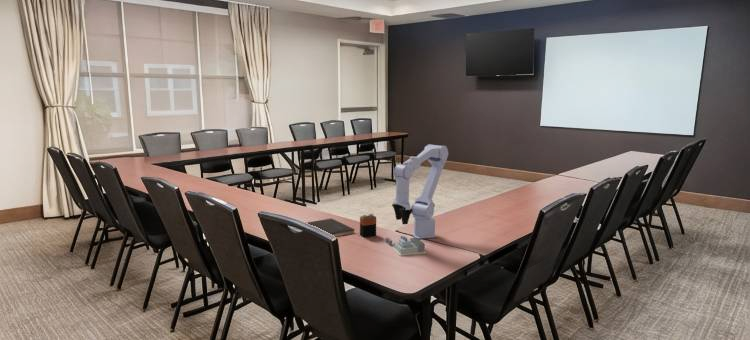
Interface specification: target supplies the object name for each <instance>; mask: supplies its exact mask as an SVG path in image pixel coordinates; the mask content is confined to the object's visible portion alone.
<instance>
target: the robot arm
mask: <svg viewBox="0 0 750 340" xmlns="http://www.w3.org/2000/svg"><path fill="white" fill-rule="evenodd" d="M448 157H449V149H448V147H447V145H439V144H438V145H436V144H431V143H429V144H427V145H426V146H424V149H423V150H422V151H421V152H420V153H419V154H417V156H410V157H409V159H407V160H406V161H404V162H403V163H402V164H397V165H396V166H395V167H394V170H393V175H394V180H395V181H396V182H395V185H396V186H395V197H394V199H393V200H394V201H393V203H392V204H391V205H392V208H393V211H394V215H395V219H396V220H397V221H398V220H401V222H402V225H408V222H409V220H410V216H411V215H412V217H413V218H414V220H413V223H414V224H413V232H410V235H411V236H413V238H418V239H419V240H422V239H429V238H430V239H431V238H436V220H435V218H434V214H435V213H434V212H435V206H436V205H435V203H434V201H433V197H434V194H435V191H436V188H437V185H438V183H439V181H440V178H441V174H442V172H443V169H444V166H445V164H446V162H447V159H448ZM426 160H427V161H428V162H429V163H430V165H431V167H430V170H429V173H428V176H427V178H426V181H425V184H424V187H423V189H422V192H421V195H420V196H417V197H416V198H415V199H414V201H413V203H412V204H410V199H409V198H410V179H411V178H412V176H413V173H414V172H416V171H417V170H418V169H419V168H420V167H421V165H422V163H424V162H425V161H426Z"/></svg>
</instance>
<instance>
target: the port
mask: <svg viewBox="0 0 750 340" xmlns="http://www.w3.org/2000/svg"><path fill="white" fill-rule="evenodd" d="M409 240H411V247H406V248H402V247H401V246H400V245H399V241H398V242H393V246H391V249H392V250H393V251H394V252H395V253H396V254H397V255H399V256H400V257H402V256H411V255H412V254H413V255H421V254H422V253H423V254H427V253H428V252H427V251H426V250H425V244H426V243H424V241H422V240H421V239H418V238H415V237H411V238H409Z"/></svg>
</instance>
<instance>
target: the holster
mask: <svg viewBox="0 0 750 340" xmlns="http://www.w3.org/2000/svg"><path fill="white" fill-rule="evenodd" d="M403 237H404V236H403V235H400V239H403ZM385 242H386V243H387V244H388V246H393V240H392V239H391V238H389V237H385Z"/></svg>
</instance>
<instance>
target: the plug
mask: <svg viewBox="0 0 750 340" xmlns="http://www.w3.org/2000/svg"><path fill="white" fill-rule="evenodd" d="M398 242H399V245H400V246H401V247H402V248H406V247H411V240H410V238H409V237H406V236H403V239H401V238H399V239H398Z"/></svg>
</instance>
